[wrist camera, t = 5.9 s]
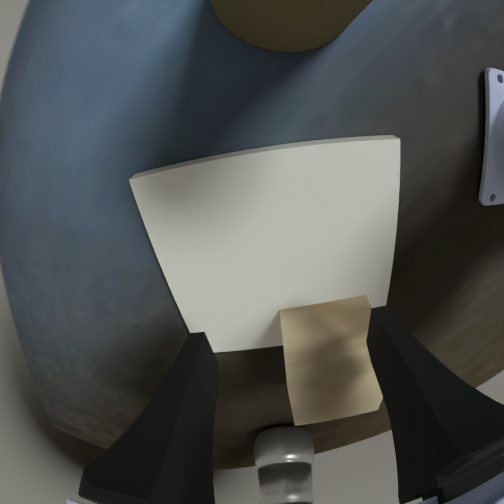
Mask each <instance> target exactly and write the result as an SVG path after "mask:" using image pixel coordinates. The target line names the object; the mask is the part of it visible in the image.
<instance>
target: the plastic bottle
mask: <svg viewBox="0 0 504 504" xmlns="http://www.w3.org/2000/svg"><path fill="white" fill-rule="evenodd" d="M254 458H255V464H256V467H257V469H258V478H259V487H260V496H261V500H260V504H313V493H312V464H313V458H314V445H313V442H312V438H311V435H310V434H309V433H308V432H307V431H306V430H305V429H304V428H302V427H298V426H279V427H273V428H269V429H266V430H264V431H262V432H261V433H260V434H259V435H258V437H257V438H256V440H255V445H254Z"/></svg>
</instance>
